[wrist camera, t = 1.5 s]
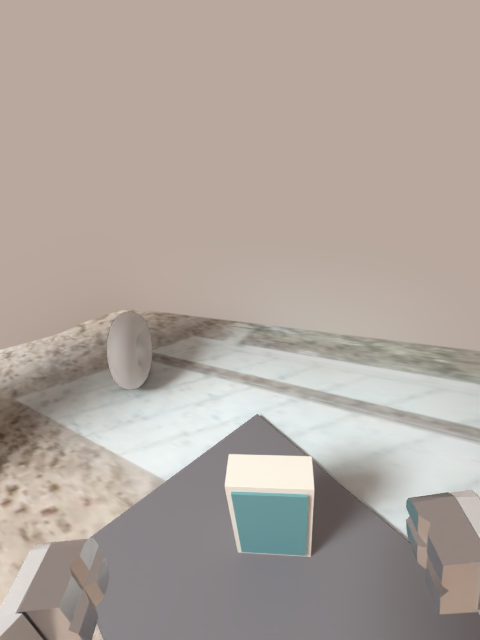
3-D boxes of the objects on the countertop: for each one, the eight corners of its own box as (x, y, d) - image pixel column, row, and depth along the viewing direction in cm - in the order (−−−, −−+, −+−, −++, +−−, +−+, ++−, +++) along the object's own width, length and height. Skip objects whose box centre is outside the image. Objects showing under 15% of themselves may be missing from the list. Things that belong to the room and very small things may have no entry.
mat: (70, 556, 32) (68, 553, 32) (257, 416, 43) (257, 413, 42) (284, 1083, 15) (284, 1088, 15) (507, 630, 25) (509, 627, 25)
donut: (144, 405, 46) (123, 343, 40) (117, 407, 46) (92, 345, 40) (160, 353, 54) (144, 295, 48) (137, 354, 54) (118, 297, 48)
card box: (237, 555, 30) (224, 489, 25) (240, 521, 33) (228, 454, 27) (310, 559, 30) (314, 492, 24) (308, 525, 32) (311, 456, 26)
